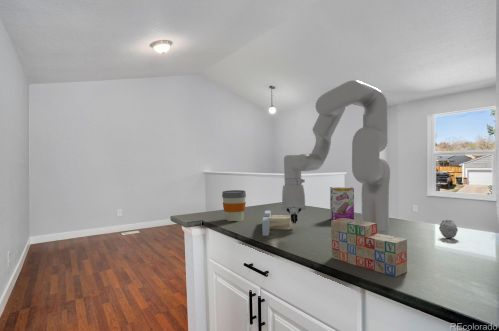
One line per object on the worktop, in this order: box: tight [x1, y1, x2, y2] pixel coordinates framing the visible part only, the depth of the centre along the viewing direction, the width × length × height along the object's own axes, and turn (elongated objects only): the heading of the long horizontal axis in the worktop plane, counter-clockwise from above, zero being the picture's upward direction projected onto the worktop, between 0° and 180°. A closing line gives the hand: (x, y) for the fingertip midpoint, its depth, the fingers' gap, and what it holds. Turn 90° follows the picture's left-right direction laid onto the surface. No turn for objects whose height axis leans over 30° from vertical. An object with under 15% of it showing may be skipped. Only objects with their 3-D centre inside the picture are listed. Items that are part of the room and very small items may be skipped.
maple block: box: [270, 214, 292, 231], centre depth 145 cm, size 7×9×5 cm
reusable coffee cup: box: [221, 189, 247, 222], centre depth 165 cm, size 13×13×15 cm
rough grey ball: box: [438, 219, 458, 239], centre depth 120 cm, size 6×7×7 cm
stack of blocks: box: [330, 218, 408, 278], centre depth 94 cm, size 21×6×12 cm, turn 36°
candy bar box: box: [329, 186, 355, 221], centre depth 159 cm, size 11×5×16 cm, turn 84°
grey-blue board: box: [261, 210, 272, 237], centre depth 143 cm, size 26×2×6 cm, turn 174°
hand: (294, 222), depth 142 cm, fingers closed
